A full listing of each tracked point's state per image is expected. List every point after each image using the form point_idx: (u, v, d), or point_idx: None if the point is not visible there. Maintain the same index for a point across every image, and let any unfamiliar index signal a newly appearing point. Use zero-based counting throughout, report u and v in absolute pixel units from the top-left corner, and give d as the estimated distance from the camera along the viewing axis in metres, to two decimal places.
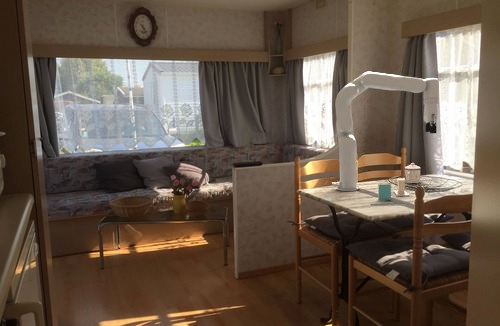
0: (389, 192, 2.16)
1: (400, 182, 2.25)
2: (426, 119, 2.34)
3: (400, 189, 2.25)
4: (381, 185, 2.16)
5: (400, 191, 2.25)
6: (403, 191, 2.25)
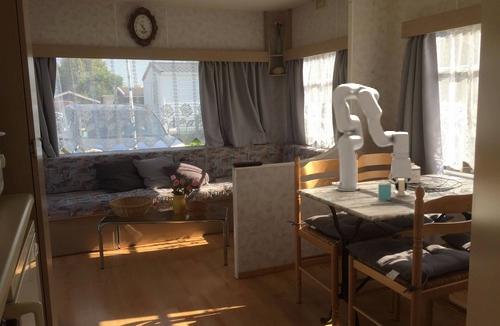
0: (389, 192, 2.16)
1: (400, 182, 2.25)
2: (406, 174, 2.22)
3: (400, 189, 2.25)
4: (381, 185, 2.16)
5: (400, 191, 2.25)
6: (403, 191, 2.25)
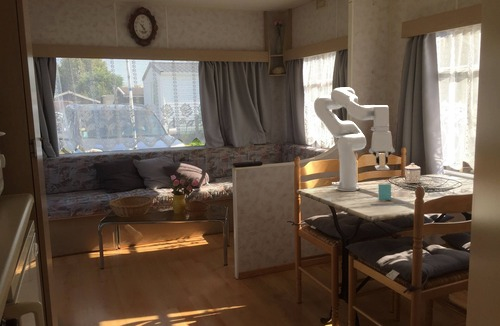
0: (389, 192, 2.16)
1: (381, 156, 2.23)
2: (386, 148, 2.21)
3: (381, 163, 2.23)
4: (381, 185, 2.16)
5: (381, 165, 2.24)
6: (384, 165, 2.23)
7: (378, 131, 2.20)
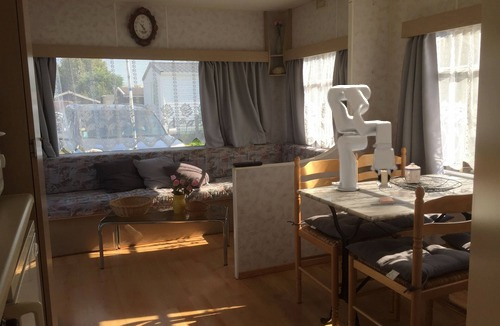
0: None
1: (383, 174, 2.16)
2: (388, 166, 2.14)
3: (383, 181, 2.17)
4: (383, 203, 2.10)
5: (383, 183, 2.17)
6: (386, 183, 2.17)
7: (380, 148, 2.13)
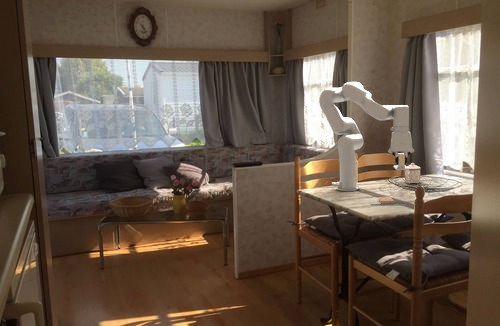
0: None
1: (400, 156, 2.22)
2: (406, 148, 2.20)
3: (400, 163, 2.23)
4: (383, 203, 2.10)
5: (400, 165, 2.23)
6: (403, 165, 2.23)
7: (398, 131, 2.19)
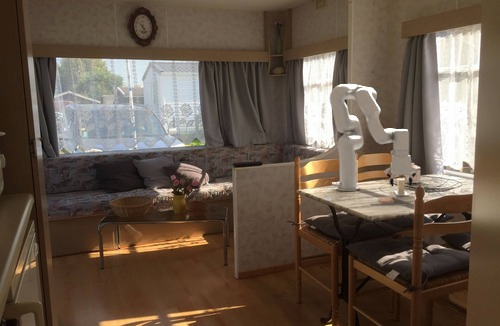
0: None
1: (400, 182, 2.25)
2: (406, 172, 2.22)
3: (400, 189, 2.25)
4: (383, 203, 2.10)
5: (400, 191, 2.25)
6: (403, 191, 2.25)
7: (398, 155, 2.21)
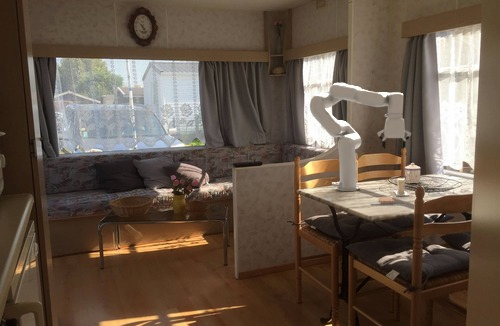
0: None
1: (400, 182, 2.25)
2: (398, 135, 2.26)
3: (400, 189, 2.25)
4: (383, 203, 2.10)
5: (400, 191, 2.25)
6: (403, 191, 2.25)
7: (391, 118, 2.25)
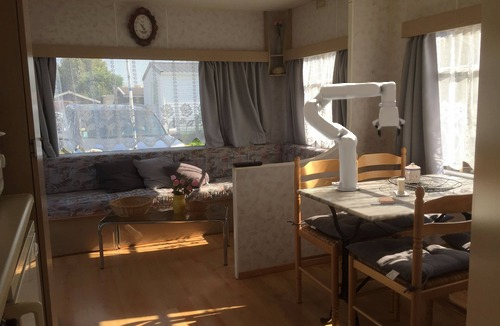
0: None
1: (400, 182, 2.25)
2: (393, 123, 2.33)
3: (400, 189, 2.25)
4: (383, 203, 2.10)
5: (400, 191, 2.25)
6: (403, 191, 2.25)
7: (385, 106, 2.32)
